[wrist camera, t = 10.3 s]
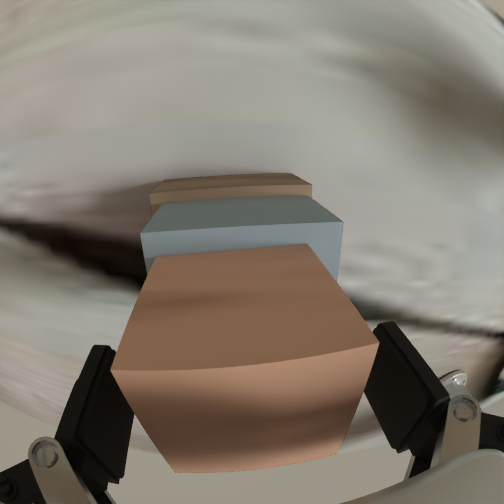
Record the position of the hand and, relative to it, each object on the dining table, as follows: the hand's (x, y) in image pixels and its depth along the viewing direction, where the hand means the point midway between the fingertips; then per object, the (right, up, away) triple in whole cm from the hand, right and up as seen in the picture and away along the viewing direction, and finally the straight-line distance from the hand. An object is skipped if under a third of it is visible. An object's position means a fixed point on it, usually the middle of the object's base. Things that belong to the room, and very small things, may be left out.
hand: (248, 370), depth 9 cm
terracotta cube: (-1, +1, +3) cm, 3 cm away
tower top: (-1, +3, +8) cm, 8 cm away
